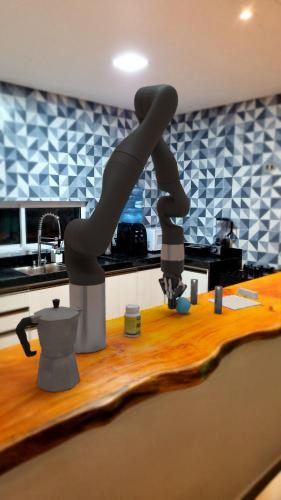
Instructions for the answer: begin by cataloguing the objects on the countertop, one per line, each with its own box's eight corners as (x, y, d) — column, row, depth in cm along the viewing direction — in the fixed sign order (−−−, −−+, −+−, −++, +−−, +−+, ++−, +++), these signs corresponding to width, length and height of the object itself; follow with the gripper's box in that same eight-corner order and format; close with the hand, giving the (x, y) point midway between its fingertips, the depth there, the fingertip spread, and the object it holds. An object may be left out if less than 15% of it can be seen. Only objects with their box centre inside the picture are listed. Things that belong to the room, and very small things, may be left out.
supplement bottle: (138, 338, 101) (139, 308, 100) (122, 336, 102) (122, 307, 101) (142, 332, 106) (142, 304, 105) (126, 330, 107) (126, 303, 106)
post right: (217, 314, 122) (218, 288, 120) (212, 312, 124) (213, 286, 123) (223, 313, 123) (224, 287, 122) (218, 311, 125) (219, 285, 124)
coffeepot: (72, 364, 86) (70, 289, 83) (97, 378, 79) (95, 297, 76) (8, 387, 75) (4, 302, 72) (30, 406, 68) (26, 313, 66)
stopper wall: (255, 299, 140) (255, 293, 140) (237, 294, 148) (237, 288, 147) (257, 298, 141) (258, 292, 140) (240, 293, 148) (240, 287, 148)
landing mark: (234, 310, 127) (234, 309, 127) (206, 300, 138) (206, 299, 138) (261, 304, 134) (261, 303, 134) (233, 295, 146) (233, 294, 146)
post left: (193, 305, 132) (193, 280, 131) (188, 303, 135) (189, 279, 133) (198, 304, 134) (199, 279, 132) (194, 302, 136) (194, 278, 135)
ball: (181, 300, 119) (194, 299, 121) (171, 295, 123) (184, 294, 126) (179, 316, 120) (193, 314, 122) (170, 311, 124) (183, 309, 127)
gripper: (151, 255, 122) (151, 305, 125) (175, 261, 111) (175, 316, 114) (169, 253, 126) (168, 302, 129) (194, 259, 115) (193, 312, 118)
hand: (171, 308), depth 121 cm, fingers closed
